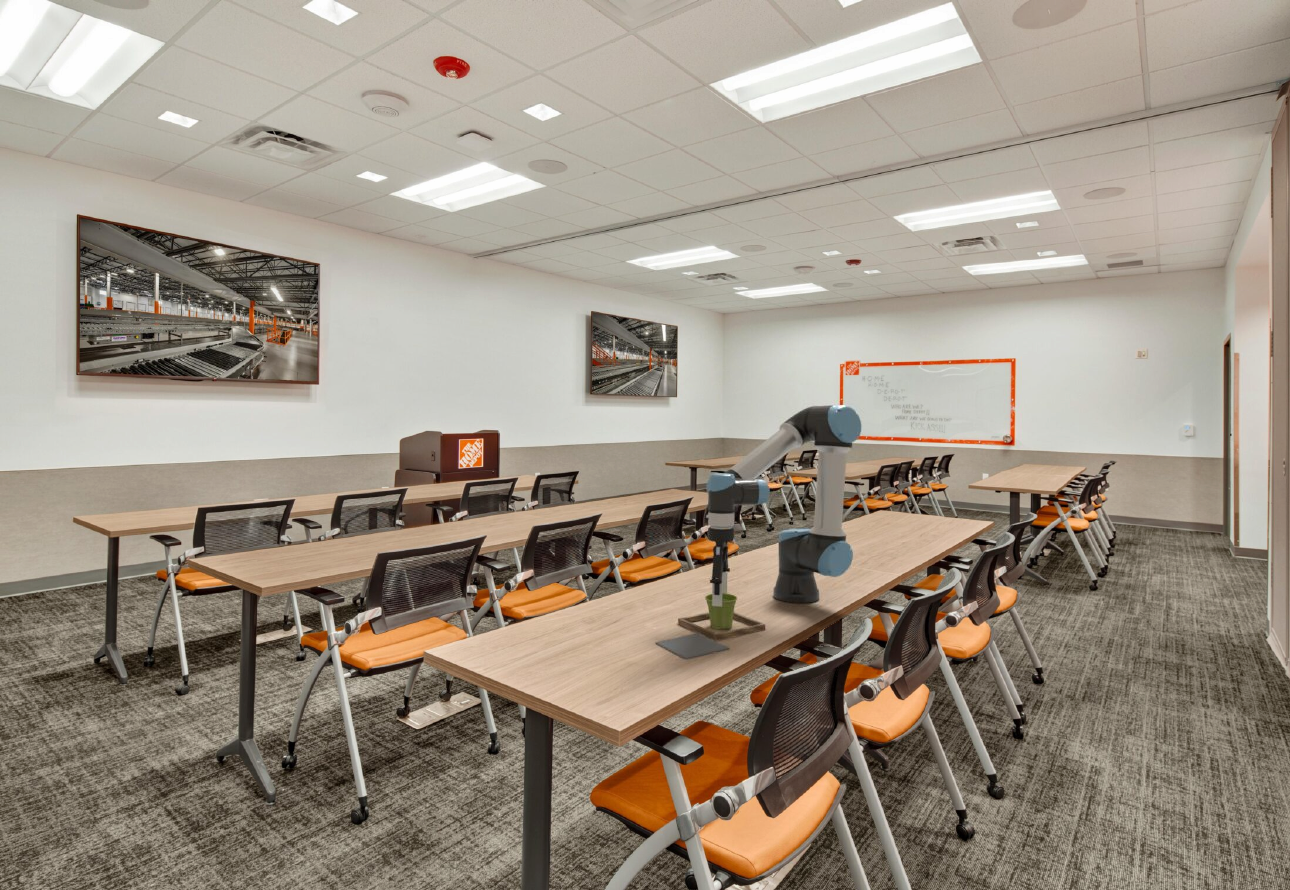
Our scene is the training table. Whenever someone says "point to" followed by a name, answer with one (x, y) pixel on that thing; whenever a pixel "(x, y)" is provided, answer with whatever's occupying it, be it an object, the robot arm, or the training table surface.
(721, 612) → the plant pot
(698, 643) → the mat
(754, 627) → the tray frame
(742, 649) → the training table surface
